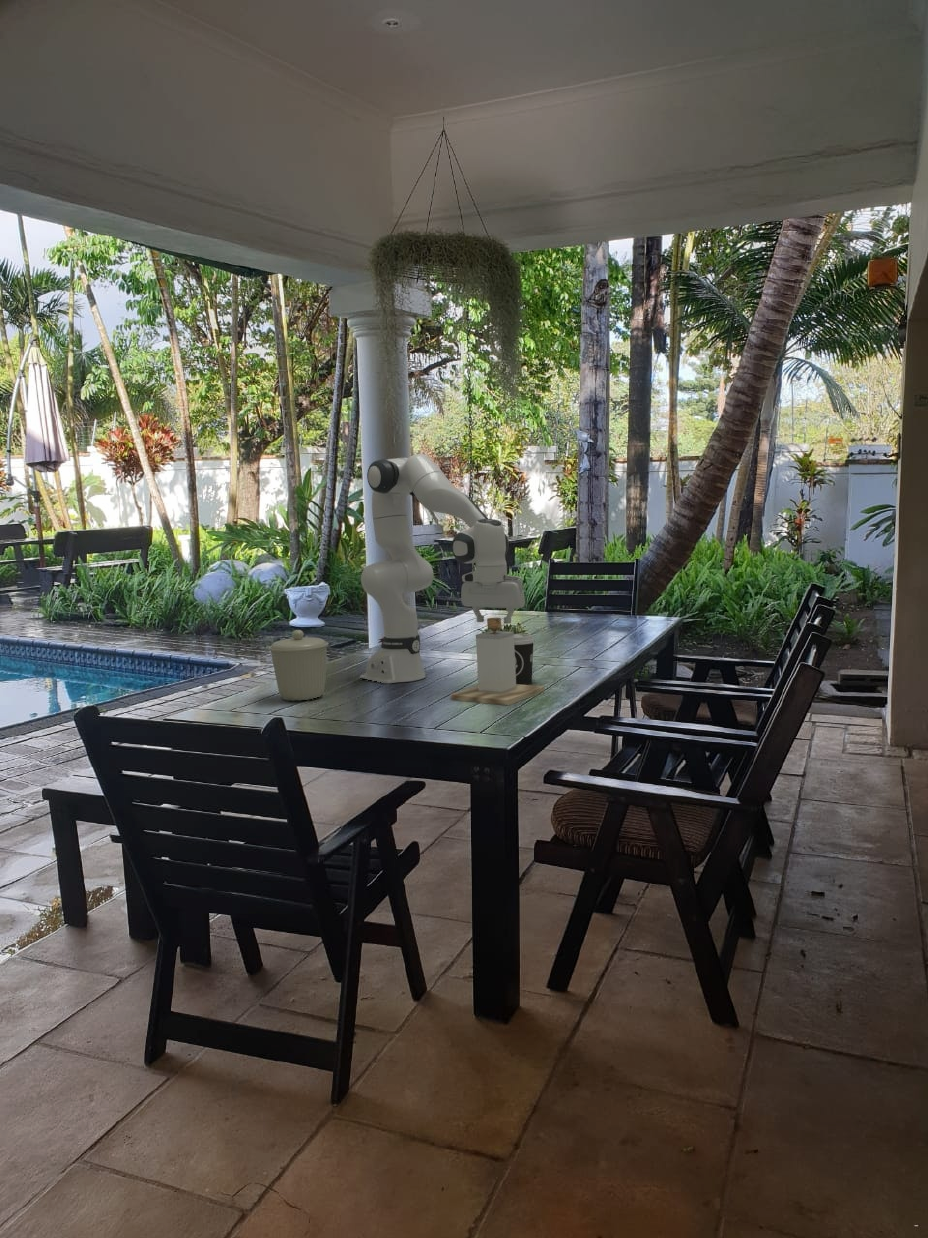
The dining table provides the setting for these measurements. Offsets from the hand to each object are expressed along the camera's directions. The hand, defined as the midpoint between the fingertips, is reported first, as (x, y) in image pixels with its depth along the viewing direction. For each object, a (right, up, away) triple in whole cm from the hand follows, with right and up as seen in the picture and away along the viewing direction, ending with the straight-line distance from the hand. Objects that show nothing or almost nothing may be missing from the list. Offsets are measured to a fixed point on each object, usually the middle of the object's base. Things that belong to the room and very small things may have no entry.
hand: (493, 622), depth 285 cm
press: (+2, -20, +4) cm, 20 cm away
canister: (-58, -23, +14) cm, 64 cm away
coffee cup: (+9, -19, +19) cm, 28 cm away
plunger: (+1, -19, +2) cm, 19 cm away
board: (+1, -21, +3) cm, 22 cm away
